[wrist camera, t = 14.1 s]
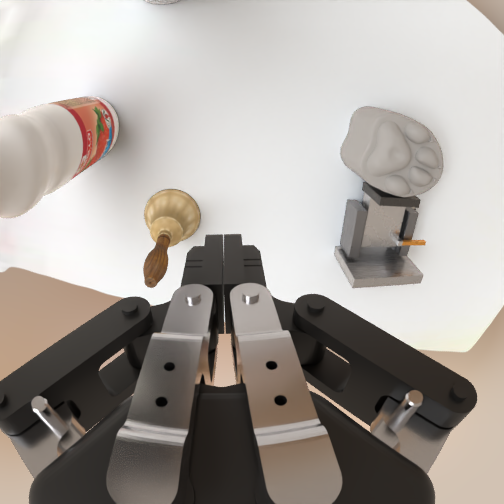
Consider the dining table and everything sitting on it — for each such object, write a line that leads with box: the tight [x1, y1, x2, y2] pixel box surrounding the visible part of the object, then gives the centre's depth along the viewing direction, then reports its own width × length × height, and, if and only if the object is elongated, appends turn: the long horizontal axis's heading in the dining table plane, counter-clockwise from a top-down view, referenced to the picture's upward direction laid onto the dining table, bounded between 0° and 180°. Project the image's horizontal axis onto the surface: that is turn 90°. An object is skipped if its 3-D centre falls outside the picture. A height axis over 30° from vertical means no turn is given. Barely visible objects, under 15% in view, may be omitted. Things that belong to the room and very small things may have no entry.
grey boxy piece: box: [361, 182, 426, 247], centre depth 42 cm, size 9×11×6 cm
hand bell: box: [143, 189, 200, 288], centre depth 36 cm, size 8×8×16 cm
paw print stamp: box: [340, 107, 443, 197], centre depth 36 cm, size 10×13×9 cm
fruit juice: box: [0, 96, 119, 219], centre depth 23 cm, size 9×9×28 cm
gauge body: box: [334, 200, 423, 288], centre depth 43 cm, size 10×13×9 cm
